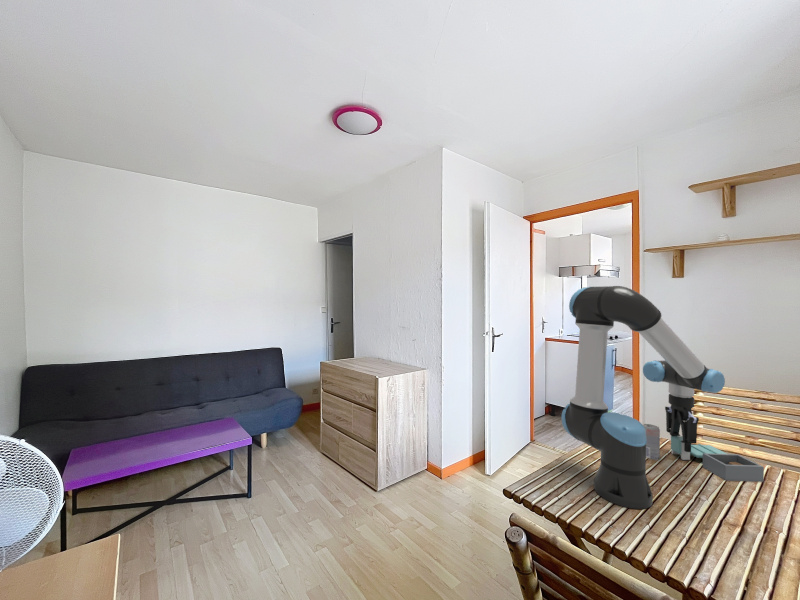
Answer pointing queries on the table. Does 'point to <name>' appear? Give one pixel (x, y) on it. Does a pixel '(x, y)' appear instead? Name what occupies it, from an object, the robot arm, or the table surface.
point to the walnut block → (734, 463)
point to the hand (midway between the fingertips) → (680, 456)
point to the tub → (733, 467)
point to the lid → (694, 447)
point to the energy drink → (652, 441)
